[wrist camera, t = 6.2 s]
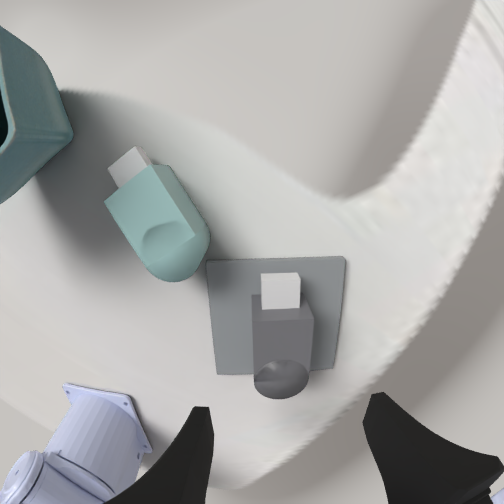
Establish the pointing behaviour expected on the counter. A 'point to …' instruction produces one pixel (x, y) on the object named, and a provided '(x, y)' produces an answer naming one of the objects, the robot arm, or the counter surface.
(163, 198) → the teal plug
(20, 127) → the flower pot
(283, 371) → the white-capped grey post
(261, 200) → the counter surface
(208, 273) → the coaster
